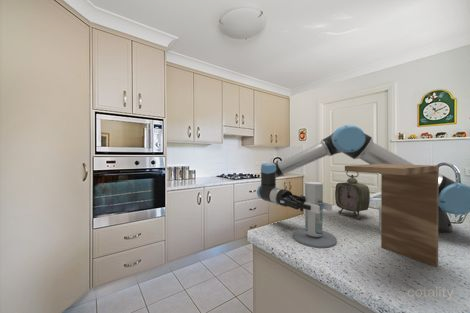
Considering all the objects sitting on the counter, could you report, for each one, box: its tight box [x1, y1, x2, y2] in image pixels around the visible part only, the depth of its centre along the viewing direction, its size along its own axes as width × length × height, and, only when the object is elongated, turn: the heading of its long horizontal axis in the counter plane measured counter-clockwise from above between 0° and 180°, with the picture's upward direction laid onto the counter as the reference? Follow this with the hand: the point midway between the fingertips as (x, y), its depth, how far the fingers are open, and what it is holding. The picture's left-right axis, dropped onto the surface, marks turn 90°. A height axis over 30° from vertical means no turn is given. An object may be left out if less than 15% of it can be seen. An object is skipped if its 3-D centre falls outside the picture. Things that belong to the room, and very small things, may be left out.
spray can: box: [304, 181, 324, 237], centre depth 77 cm, size 6×6×20 cm
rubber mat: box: [292, 227, 338, 249], centre depth 77 cm, size 16×16×1 cm
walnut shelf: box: [344, 164, 440, 268], centre depth 58 cm, size 24×14×30 cm, turn 120°
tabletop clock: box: [334, 171, 371, 220], centre depth 105 cm, size 14×9×25 cm, turn 23°
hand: (325, 208), depth 72 cm, fingers closed on spray can, 6 cm apart
